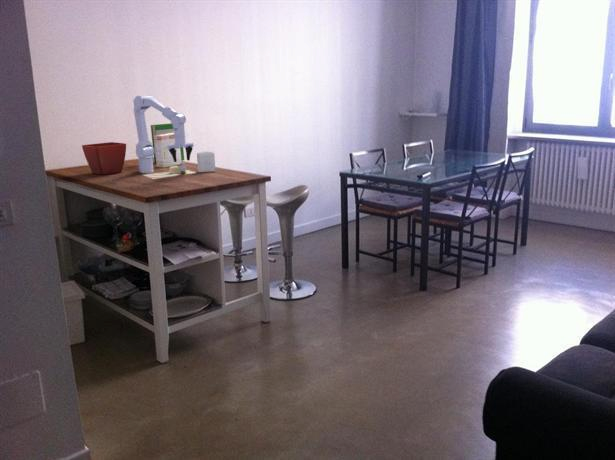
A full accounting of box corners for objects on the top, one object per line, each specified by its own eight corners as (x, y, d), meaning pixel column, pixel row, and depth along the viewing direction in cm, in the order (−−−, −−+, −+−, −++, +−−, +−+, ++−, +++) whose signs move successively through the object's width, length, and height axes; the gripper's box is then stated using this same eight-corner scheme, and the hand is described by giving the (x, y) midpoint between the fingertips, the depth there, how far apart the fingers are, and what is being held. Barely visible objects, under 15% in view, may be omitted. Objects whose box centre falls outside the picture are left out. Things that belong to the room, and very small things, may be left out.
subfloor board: (141, 176, 338) (141, 174, 338) (185, 170, 352) (185, 169, 351) (153, 180, 323) (152, 178, 323) (197, 174, 337) (197, 172, 337)
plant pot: (114, 169, 369) (111, 141, 364) (130, 172, 355) (126, 143, 351) (84, 173, 356) (80, 145, 351) (99, 176, 342) (95, 147, 338)
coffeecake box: (174, 163, 383) (171, 132, 378) (182, 164, 379) (179, 132, 374) (156, 166, 371) (152, 135, 366) (163, 167, 367) (160, 135, 362)
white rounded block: (213, 170, 348) (211, 149, 345) (216, 171, 345) (215, 149, 342) (197, 172, 343) (195, 151, 339) (200, 173, 339) (198, 151, 336)
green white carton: (158, 163, 385) (155, 125, 379) (154, 162, 391) (150, 125, 385) (184, 160, 395) (181, 123, 389) (179, 159, 401) (176, 122, 395)
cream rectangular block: (169, 172, 341) (169, 166, 340) (183, 171, 345) (182, 164, 344) (173, 173, 337) (172, 167, 336) (186, 172, 341) (185, 165, 340)
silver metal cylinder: (179, 174, 335) (178, 163, 334) (184, 173, 337) (183, 162, 335) (181, 174, 333) (180, 163, 332) (186, 173, 335) (185, 163, 333)
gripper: (169, 138, 323) (172, 163, 326) (194, 135, 330) (196, 160, 334) (165, 137, 329) (167, 161, 332) (189, 134, 336) (191, 159, 340)
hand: (181, 161), depth 333 cm, fingers open, 7 cm apart
